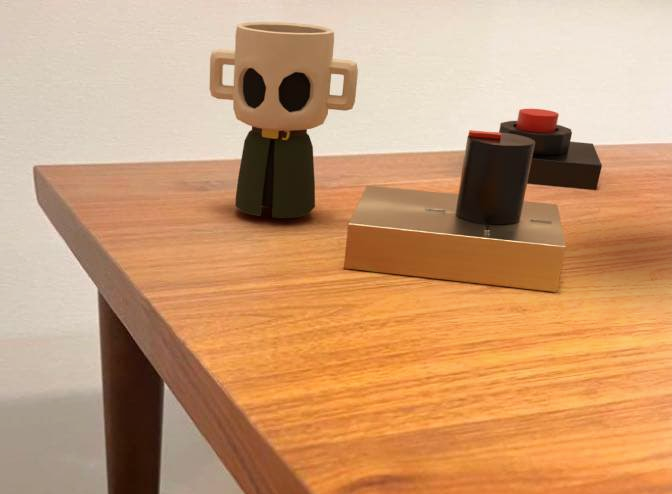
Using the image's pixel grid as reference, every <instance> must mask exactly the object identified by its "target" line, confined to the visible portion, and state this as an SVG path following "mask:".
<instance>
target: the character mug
mask: <svg viewBox="0 0 672 494" xmlns="http://www.w3.org/2000/svg"><path fill="white" fill-rule="evenodd" d="M234 37H235V41H234V44H235V45H234V47H235V48H234V49H222V48H217V49H214V50H211V53H210V57H209V91H210V96H211V97H212V98H215V99H218V100H228V101H232V103H233V105H232V106H233V107H232V109H233V112H234V115H235V118H236V120H237V121H239V122H241V123H243V124H245V125H247V126H250V127H251V130H249V131H248V132H247V135H246V136H245V139H244V141H243V148H242V152H241V159H240V165H239V171H238V177H237V185H236V194H235V203H234V207H235V208H237V209H238V210H240V211H241V212H243V213H246V214H249V215H254V216H260V217H261V216H262V208H267V209H272V210H271V211H272V212H271V217H272V218H275V219H276V218H277V219H279V218H280V219H281V218H283V219H284V218H285V219H286V218H288V219H289V218H298V217H303V216H307V215H309V214H310V213H311V212H312V211H313V210H314V209H315V208H316V184H315V181H316V180H315V165H314V163H315V162H314V145H313V142H312V140H311V137H310V135H309V134H308V130H312V129H315V128H317V127H319V126H323V125H324V123H325V121H326V119H327V117H328V115H329V110H333V111H334V110H335V111H343V112H344V111H345V112H346V111H349V110H353V108H354V106H355V103H356V96H357V95H356V94H357V85H358V75H359V69H358V64H357V62H355V61H353V60H349V59H339V58H333V57H334V56H333V55H334V47H335V31H334V29H331V28H328V27H324V26H319V25H313V24H306V23H299V22H298V23H297V22H282V21H281V22H280V21H251V22H249V21H248V22H242V23H238V24H236V30H235V36H234ZM225 65H227V66H233V67H234V69H233V85H229V84H228V85H227V84H223V77H224V76H223V73H224V66H225ZM332 75H340V76H343V82H342V83H343V84H342V92H341V93H342V94H341V95H337V94H330V93H331V81H332Z"/></svg>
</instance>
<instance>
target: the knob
mask: <svg viewBox="0 0 672 494" xmlns="http://www.w3.org/2000/svg"><path fill="white" fill-rule="evenodd" d="M534 146H535V141H534V140H532V139H530V138H528V137H524V136H520V135H515V134H509V133H499V131H497V132H495V131H483V130H472V129H469V131H468V135H467V138H466V144H465V151H464V158H463V162H462V169H461V170H462V171H461V175H460V182H459V188H458V193H457V194H458V200H457V207H456V214H457V215H458V216H460V217H461V218H464V219H466V220H470V221H474V222H478V223H485V224H511V223H515V222H518V221H519V220H520V217H521V212H522V207H523V202H524V201H525V198H526V197H525V196H526V191H527V186H528V184H527V182H528V176H529V171H530V166H531V161H532V156H533V151H534Z"/></svg>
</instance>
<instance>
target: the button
mask: <svg viewBox="0 0 672 494" xmlns="http://www.w3.org/2000/svg"><path fill="white" fill-rule="evenodd" d="M559 115H560V114H559V113H558V112H556V111H554V110H549V109H543V108H542V109H541V108H521V109H519V110H518V114H517V120H516V121H517V125H516V128H518V129H522V130H527V131H534V132H555V130H556V126H557V125H558V120H559Z"/></svg>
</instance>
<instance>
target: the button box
mask: <svg viewBox="0 0 672 494" xmlns="http://www.w3.org/2000/svg"><path fill="white" fill-rule="evenodd" d="M516 125H517V120H508V121H504V122H503V121H502V122H500V125H499V130H498V132H499V133H509V134H515V135H520V136H524V137H528V138H530V139H532V140H534V141H535V146H534V151H533V156H532V161H531V166H530V171H529V176H528V182H527V185H535V186H536V185H537V186H545V187H546V186H547V187H557V188H569V189H579V190H588V191H589V190H590V191H597V188H598V184H599V180H600V176H601V172H602V167H603V165H602V162H601V160H600V157H599V155H598V152H597V150H596V148H595V145H594V143H590V142H579V141H571V139H572V136H573V135H572V134H573V131H572V129H571V128H569V127H566V126H564V125H561V124H557V126H556V130H555V132H534V131H527V130H522V129H518V128H516Z"/></svg>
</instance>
